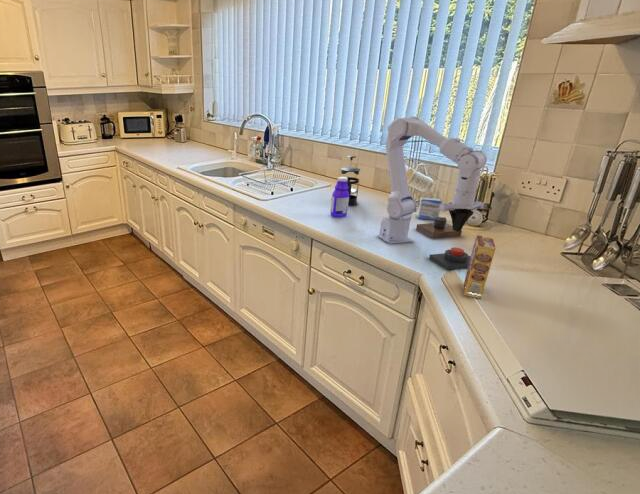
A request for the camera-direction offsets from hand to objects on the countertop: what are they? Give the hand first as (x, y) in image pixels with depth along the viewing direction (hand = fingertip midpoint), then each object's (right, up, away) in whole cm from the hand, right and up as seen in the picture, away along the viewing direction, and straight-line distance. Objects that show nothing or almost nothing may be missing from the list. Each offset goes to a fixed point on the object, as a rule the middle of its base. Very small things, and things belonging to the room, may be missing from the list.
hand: (456, 230), depth 129 cm
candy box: (-6, -18, -18) cm, 26 cm away
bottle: (-26, +7, +45) cm, 52 cm away
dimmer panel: (+7, -1, +24) cm, 25 cm away
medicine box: (+12, +6, +41) cm, 43 cm away
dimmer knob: (+7, +2, +23) cm, 24 cm away
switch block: (-1, -11, -1) cm, 11 cm away
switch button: (-1, -8, -2) cm, 8 cm away
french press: (-16, +15, +63) cm, 67 cm away
